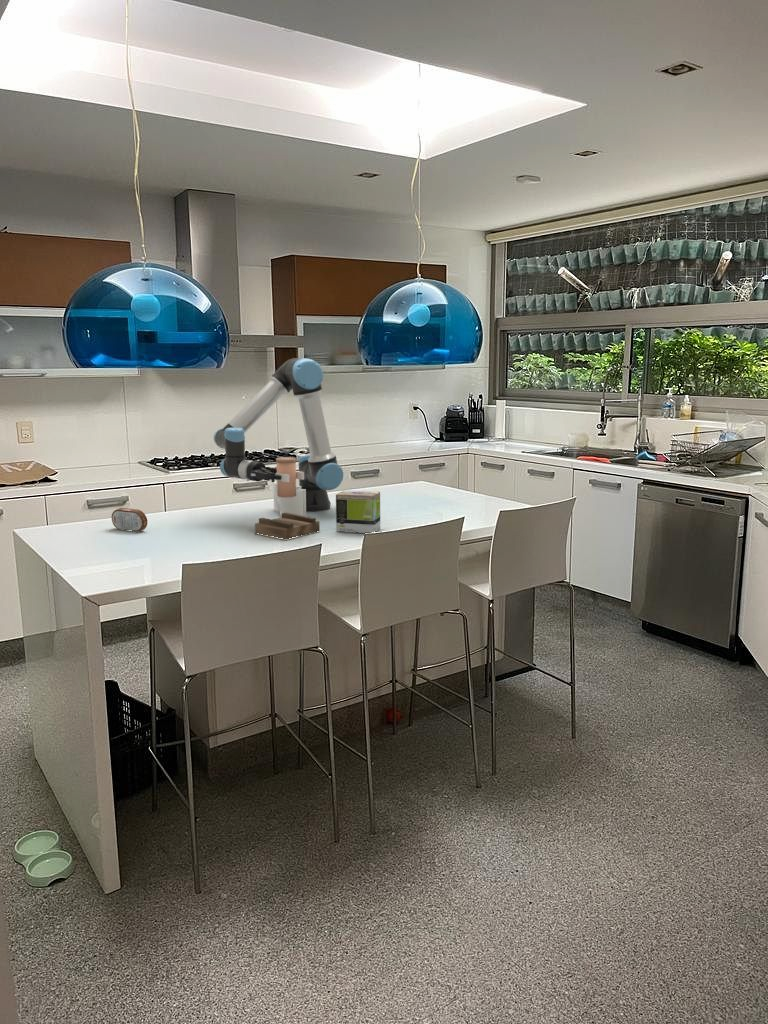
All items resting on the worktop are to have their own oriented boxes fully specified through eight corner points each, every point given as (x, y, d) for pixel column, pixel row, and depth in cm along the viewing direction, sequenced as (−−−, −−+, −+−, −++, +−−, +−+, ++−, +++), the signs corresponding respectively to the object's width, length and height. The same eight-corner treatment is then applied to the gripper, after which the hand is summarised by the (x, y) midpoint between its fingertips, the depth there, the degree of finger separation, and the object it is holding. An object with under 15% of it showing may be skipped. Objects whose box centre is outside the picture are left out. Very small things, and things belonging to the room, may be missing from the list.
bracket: (270, 508, 344) (269, 481, 342) (292, 507, 347) (291, 479, 345) (283, 520, 321) (283, 491, 319) (307, 519, 325) (306, 489, 322)
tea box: (380, 528, 308) (381, 491, 305) (373, 534, 299) (373, 495, 296) (343, 526, 312) (343, 488, 309) (335, 532, 303) (335, 493, 299)
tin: (148, 531, 302) (147, 509, 300) (143, 533, 299) (141, 511, 297) (116, 528, 307) (115, 506, 305) (110, 529, 304) (109, 508, 302)
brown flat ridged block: (289, 525, 312) (288, 511, 311) (319, 531, 303) (319, 517, 302) (255, 533, 298) (254, 519, 297) (285, 540, 289) (285, 525, 288)
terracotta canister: (286, 493, 303) (285, 456, 300) (300, 495, 298) (299, 458, 295) (272, 495, 297) (272, 458, 294) (286, 498, 293) (286, 460, 290)
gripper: (271, 477, 315) (314, 483, 302) (233, 483, 300) (276, 490, 286) (271, 458, 314) (314, 463, 300) (232, 464, 298) (276, 470, 285)
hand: (296, 477), depth 293 cm, fingers closed on terracotta canister, 7 cm apart
